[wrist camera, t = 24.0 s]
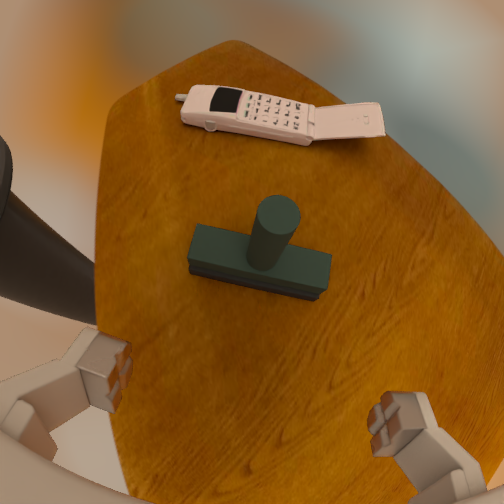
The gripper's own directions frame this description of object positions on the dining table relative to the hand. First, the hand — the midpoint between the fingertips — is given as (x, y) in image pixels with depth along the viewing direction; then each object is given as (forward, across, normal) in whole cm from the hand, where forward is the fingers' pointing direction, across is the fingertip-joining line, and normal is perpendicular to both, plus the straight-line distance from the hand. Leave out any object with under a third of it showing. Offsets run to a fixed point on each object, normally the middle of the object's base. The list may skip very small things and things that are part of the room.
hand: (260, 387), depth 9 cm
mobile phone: (+32, +2, -6) cm, 33 cm away
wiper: (+20, 0, +7) cm, 21 cm away
